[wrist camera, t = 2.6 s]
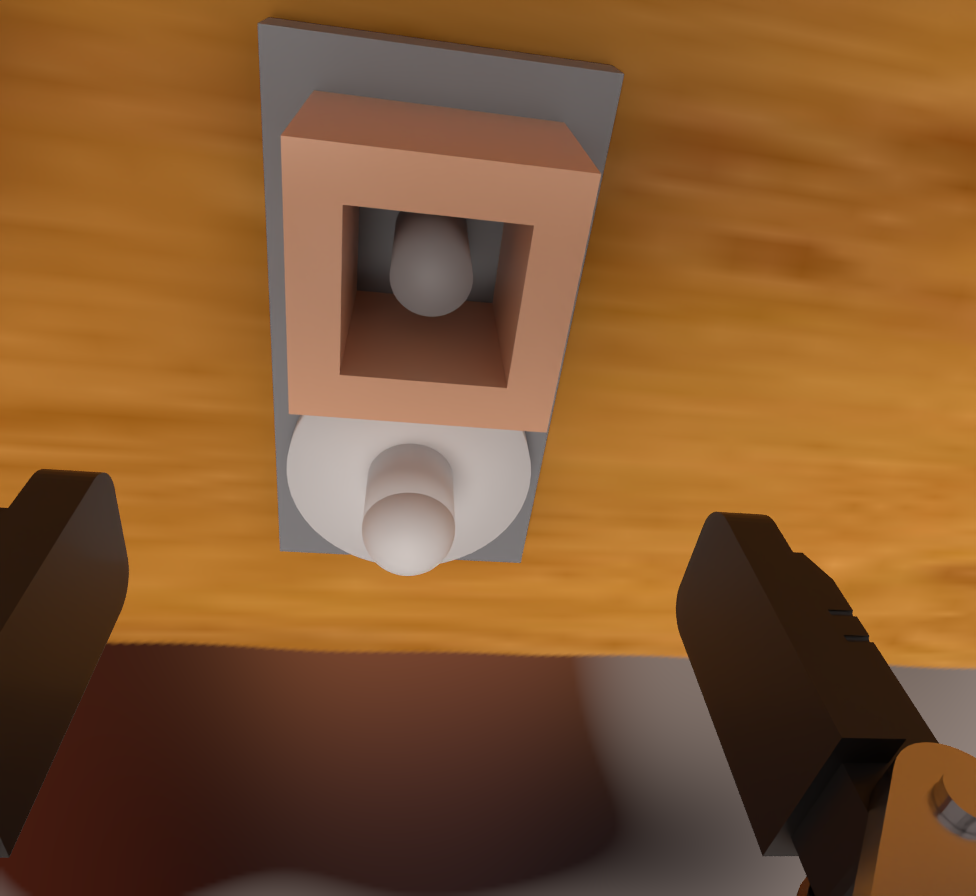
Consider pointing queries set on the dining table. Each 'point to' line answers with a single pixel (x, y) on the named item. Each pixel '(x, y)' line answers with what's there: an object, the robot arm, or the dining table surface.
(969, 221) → the dining table surface
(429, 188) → the collar
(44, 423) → the dining table surface
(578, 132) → the hub base
